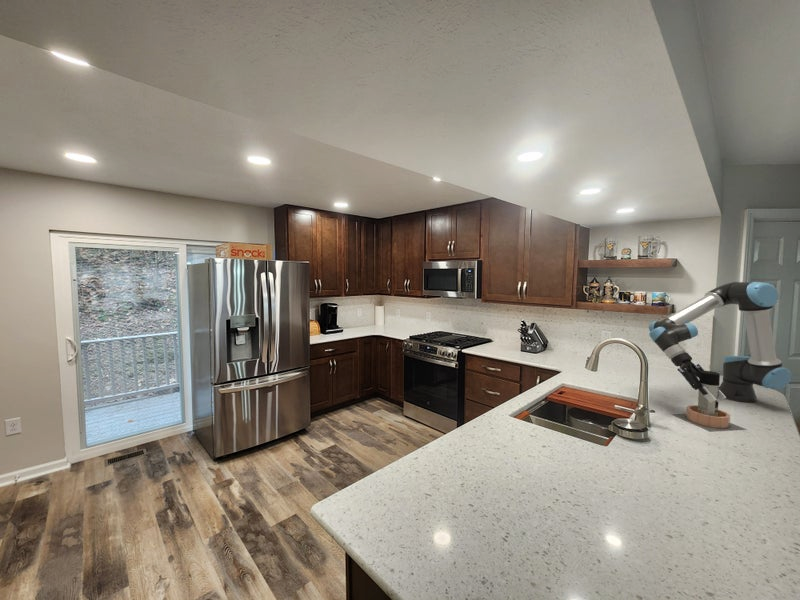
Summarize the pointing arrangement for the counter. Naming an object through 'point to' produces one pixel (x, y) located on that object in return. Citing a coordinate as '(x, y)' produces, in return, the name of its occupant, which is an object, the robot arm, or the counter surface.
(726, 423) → the bowl
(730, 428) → the mat
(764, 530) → the counter surface
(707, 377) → the spray can
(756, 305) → the robot arm
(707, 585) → the counter surface
